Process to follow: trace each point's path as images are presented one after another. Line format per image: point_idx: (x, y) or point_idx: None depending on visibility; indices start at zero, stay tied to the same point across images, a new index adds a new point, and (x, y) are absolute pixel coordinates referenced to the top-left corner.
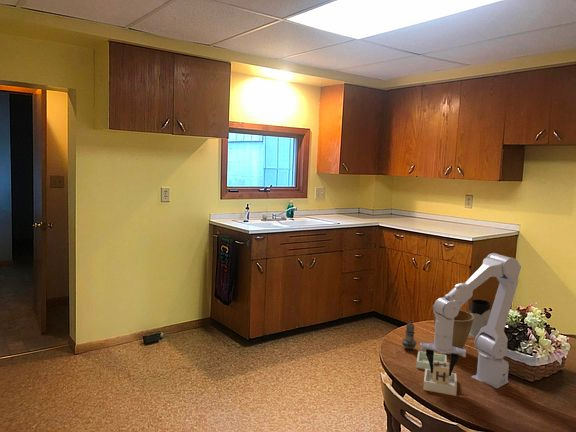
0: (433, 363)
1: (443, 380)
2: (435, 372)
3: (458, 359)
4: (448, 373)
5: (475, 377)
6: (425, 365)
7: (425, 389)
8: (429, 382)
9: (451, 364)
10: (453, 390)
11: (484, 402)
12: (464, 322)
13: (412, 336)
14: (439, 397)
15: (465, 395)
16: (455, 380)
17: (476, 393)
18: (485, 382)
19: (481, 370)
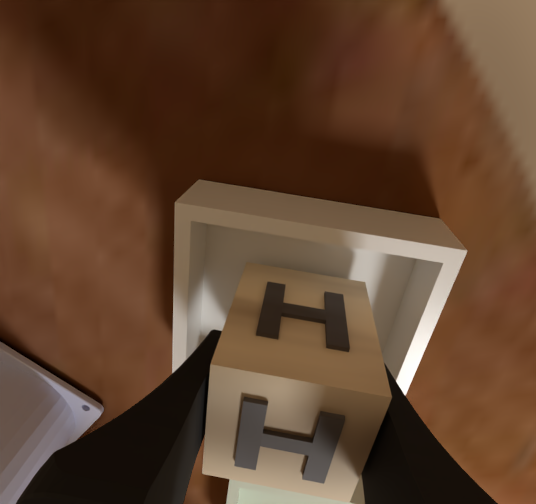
0: (308, 499)
1: (279, 287)
2: (355, 341)
3: (31, 480)
4: (228, 327)
5: (79, 408)
6: (358, 484)
7: (425, 217)
8: (414, 241)
9: (172, 415)
10: (210, 193)
11: (6, 125)
12: None
13: None
14: (332, 118)
15: (134, 201)
16: (181, 311)
17: (67, 245)
18: (24, 366)
19: (6, 439)
